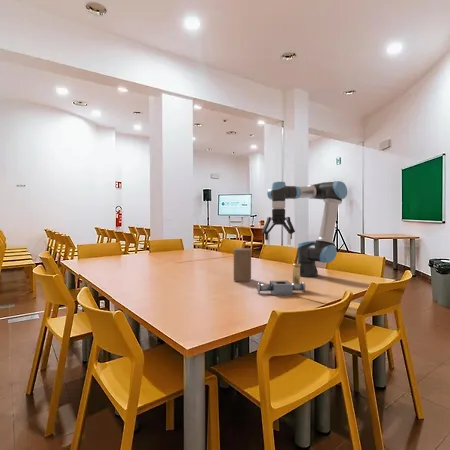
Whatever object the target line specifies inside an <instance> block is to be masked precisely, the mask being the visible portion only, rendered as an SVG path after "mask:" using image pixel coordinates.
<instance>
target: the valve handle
mask: <svg viewBox="0 0 450 450" xmlns="http://www.w3.org/2000/svg"><path fill="white" fill-rule="evenodd" d="M291 266H292V284H301V276H300V266H301V264H299V263H298V262H297V263H292V264H291Z"/></svg>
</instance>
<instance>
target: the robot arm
mask: <svg viewBox="0 0 450 450" xmlns="http://www.w3.org/2000/svg"><path fill="white" fill-rule="evenodd" d="M271 185H272V186H271V187H270V188H269V189H268V190H267V193H266V194H267V198H268V199H269V200H271V202H272V203H271V205H272V206H271V208H272V209H271V216H267V218H266V222H265V224H264V226H263V228H262V230H261V233H262V234H264V240H265V241H266V242H265V244H266V246H267V247H270V246H271V245H270V240H271V239H270V238H271V237H270V232H271V231H272V229H273V228H274V227H275V226H280V225H282V227H283V228H284V229H285V230H286V232H287V234H286V235H287V237H286V241H287V242H286V243H287V244H286V245H288V246H291V243H292V242H291V241H292V239H293V234H294V233H295V232H296V230H295V228H294V225H293V224H292V221H291V217H290V216H286V209H285V208H286V200H290V199H293V200H295V199H296V200H298V199H304V198H305V199H306V198H308V199H310V200H311V199H312V200H313V199H315V200H323V202H324V207H323V212H322V218H321V225H320V227H319V228H320V229H319V236H318V238H316V239H315V240H311V241H309V240H308V241H300V242H298V243H297V244H298V245H297V263H299V264H301V266H300V277H303V278H304V277H306V278H311V277H312V278H313V277H314V276H315V277H318V276H317V275H319V271H318V268H317V265H316V262H317V263H323V264H325V263H327V264H329V263H330V264H331V263H332V262H333V261H334V260H335V259H336V257H337V253H338V250H337V247H336V246H335V242H334V240H333V238H334V233H335V229H336V223H337V222H336V221H337V216H338V209H339V205H340V204H342V201H343V200H344V199H346V198H347V196H348V188H347V186H346V183H345V182H344V181H342V180H333V181H327V182H326V181H325V182H319V183H315V184H309V185H307V186H305V185H304V186H296V185H286V182H285V181H273V182H272V184H271ZM271 221H272V222H271Z"/></svg>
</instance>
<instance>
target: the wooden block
mask: <svg viewBox="0 0 450 450" xmlns="http://www.w3.org/2000/svg"><path fill="white" fill-rule="evenodd" d="M251 279H252V248H249V247H248V248H246V247H244V248H243V247H237V248H235V249H233V282H239V283H241V282H242V283H245V282H246V283H249V282H250V281H251Z"/></svg>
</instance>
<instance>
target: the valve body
mask: <svg viewBox="0 0 450 450" xmlns="http://www.w3.org/2000/svg"><path fill="white" fill-rule="evenodd" d="M256 289H257V291H256V292H257V293H258V294H259V293H261V292H270V293H271V294H272V295H273V296H274V297H277V296H282V297H283V296H293V294H294V293H293V292H295V291H298V292H299V291H300V292H302V293H305V292H306V283H305V282H304V281H300V284H293V283H292V282H290V281H289V280H269V283H268V284H267V283H264V284H263V283H262V284H260V282H257V285H256Z"/></svg>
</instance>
